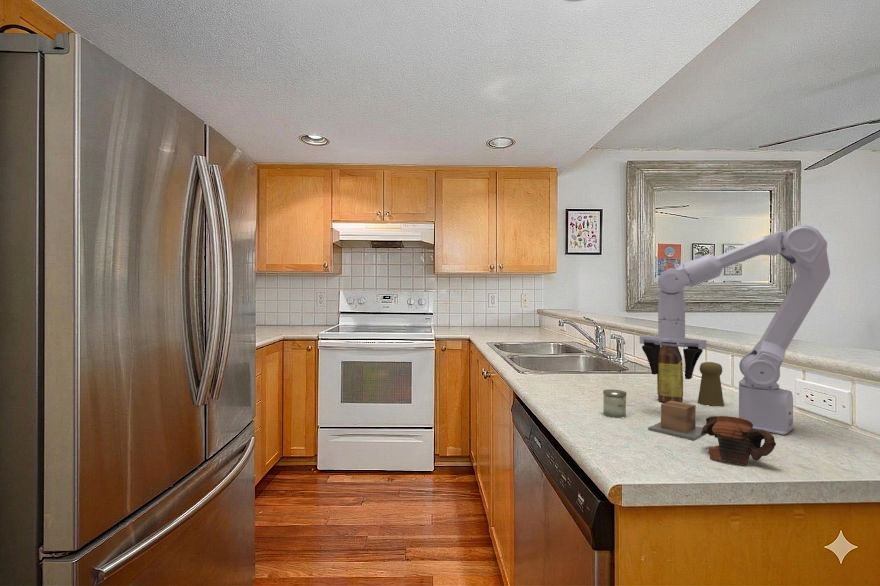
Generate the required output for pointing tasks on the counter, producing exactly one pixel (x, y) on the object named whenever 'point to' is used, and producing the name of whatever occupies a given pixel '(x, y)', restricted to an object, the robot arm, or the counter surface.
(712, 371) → the cork
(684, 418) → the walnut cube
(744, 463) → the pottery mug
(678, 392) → the sauce bottle
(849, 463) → the counter surface
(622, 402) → the green spice tin
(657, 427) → the slate tile
